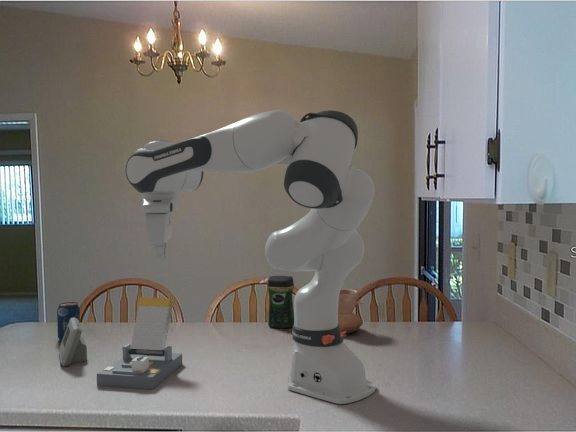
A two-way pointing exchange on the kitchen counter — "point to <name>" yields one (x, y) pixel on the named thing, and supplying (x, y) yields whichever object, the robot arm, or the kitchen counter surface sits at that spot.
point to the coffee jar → (280, 301)
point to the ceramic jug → (348, 311)
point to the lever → (151, 326)
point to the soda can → (66, 316)
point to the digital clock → (73, 344)
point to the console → (125, 377)
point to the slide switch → (140, 364)
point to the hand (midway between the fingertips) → (161, 259)
